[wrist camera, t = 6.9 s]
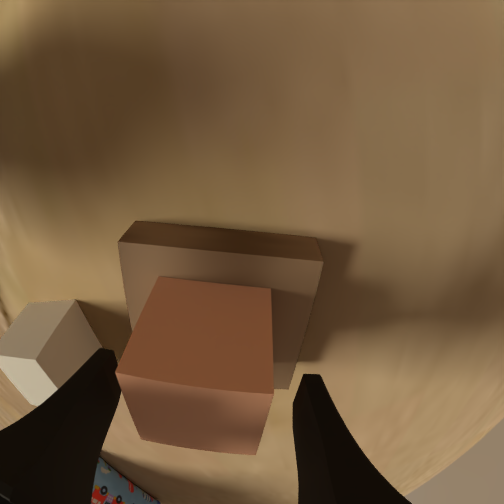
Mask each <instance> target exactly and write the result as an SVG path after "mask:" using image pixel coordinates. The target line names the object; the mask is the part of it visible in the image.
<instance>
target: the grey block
mask: <svg viewBox="0 0 504 504" xmlns="http://www.w3.org/2000/svg"><path fill="white" fill-rule="evenodd" d="M99 348H103V347H102V345H101V344H100V342H99V340H98V339H97V337H96V335H95V334H94V332H93V330H92V328H91V327H90V325H89V323H88V321H87V319H86V318H85V316H84V314H83V312H82V310H81V308H80V307H79V305H78V303H77V301H76V299H74V300H61V301H48V302H34V303H28V304H27V305H26V307H25V308H24V309H23V310H22V312H21V313H20V314H19V315H18V317H17V318H16V319H15V320H14V322H13V323H12V324H11V326H10V327H9V328H8V329H7V331H6V332H5V333H4V335H3V336H2V337H1V339H0V368H1V369H2V371H3V372H4V373H5V375H6V376H7V377H8V378H9V380H10V381H11V382H12V383H13V384H14V386H15V387H16V388H17V389H18V390H19V391H20V393H21V394H22V395H23V396H24V397H25V398H26V399H27V401H28V402H29V403H30V404H32V405H36V406H39V405H40V404H42V403H43V402H44V401H45V400H46V399H48V398H49V397H50V396H51V395H52V394H53V393H54V392H55V391H57V390H58V389H59V388H60V387H61V386H62V385H63V384H64V383H65V382H66V381H67V380H68V379H69V378H70V377H71V376H72V375H73V374H74V373H75V372H76V371H77V370H78V369H79V368H80V367H81V366H82V365H83V364H84V363H85V362H86V361H87V360H88V359H89V358H90V357H91V356H92V355H93V354H94V353H95V352H96V351H97V350H98V349H99Z"/></svg>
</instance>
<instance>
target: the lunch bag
mask: <svg viewBox="0 0 504 504" xmlns="http://www.w3.org/2000/svg"><path fill="white" fill-rule="evenodd" d="M91 504H161V503H160V502H159V501H158V500H155V499H154V498H152V497H151V496H150V495H148V494H147V493H145V492H144V491H142V490H141V489H140V488H138V487H137V486H135V485H134V484H133V483H131V482H130V481H129V480H128V479H126V478H125V477H123V476H122V475H120V474H119V473H118V472H117V471H115V470H114V469H113V468H112V467H111V466H109V465H108V464H107V463H106V462H105V461H104V460H103V459H102V458H100V457H99V459H98V464H97V469H96V473H95V479H94V485H93V492H92V500H91Z"/></svg>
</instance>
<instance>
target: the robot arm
mask: <svg viewBox="0 0 504 504" xmlns="http://www.w3.org/2000/svg"><path fill="white" fill-rule="evenodd" d="M117 367H118V364H117V360H116V357H115V354H114V351H113V350H108V349H104V348H99V349H98V350H97V351H96V352H95V353H94V354H93V355H92V356H91V357H90V358H89V359H88V360H87V361H86V362H85V363H84V364H83V365H82V366H81V367H80V368H79V369H78V370H77V371H76V372H75V373H74V374H73V375H72V376H71V377H70V378H69V379H68V380H67V381H66V382H65V383H64V384H63V385H62V386H61V387H60V388H59V389H58V390H57V391H55V392H54V393H53V394H52V395H51V396H50V397H49V398H48V399H46V400H45V401H44V402H43V403H42V404H40V405H39V406H38V407H37V408H35V409H34V410H33V411H31V412H30V413H29V414H27V415H26V416H24V417H23V418H21V419H20V420H18V421H17V422H15V423H13V424H12V425H10V426H8V427H6V428H4V429H2V430H1V431H0V504H91V500H92V492H93V485H94V479H95V473H96V469H97V464H98V459H99V455H100V452H101V449H102V446H103V443H104V440H105V437H106V435H107V432H108V429H109V427H110V424H111V422H112V419H113V416H114V414H115V411H116V408H117V406H118V402H119V398H120V395H121V388H120V385H119V382H118V379H117V376H116V373H115V371H116V369H117ZM293 435H294V444H295V452H296V461H297V470H298V482H299V493H298V504H412V503H411V502H409V501H408V500H407V499H406V498H405V497H404V496H402V495H401V494H400V493H399V492H398V491H397V490H396V489H395V488H394V487H393V486H392V485H391V484H390V483H389V482H388V481H387V480H386V479H385V478H384V477H383V476H382V475H381V474H380V473H379V471H378V470H377V469H376V468H375V467H374V465H373V464H372V463H371V462H370V461H369V459H368V458H367V457H366V455H365V454H364V453H363V451H362V450H361V448H360V447H359V446H358V444H357V443H356V441H355V440H354V438H353V436H352V435H351V433H350V432H349V430H348V428H347V427H346V425H345V423H344V421H343V420H342V418H341V416H340V414H339V413H338V411H337V409H336V407H335V405H334V403H333V401H332V399H331V397H330V395H329V393H328V391H327V388H326V386H325V384H324V382H323V379H322V377H321V376H320V375H319V374H303V377H302V379H301V382H300V385H299V388H298V391H297V393H296V396H295V399H294V402H293Z"/></svg>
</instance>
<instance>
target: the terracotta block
mask: <svg viewBox="0 0 504 504" xmlns="http://www.w3.org/2000/svg"><path fill="white" fill-rule="evenodd" d="M115 373H116V376H117V379H118V382H119V385H120V388H121V390H122V393H123V396H124V399H125V401H126V404H127V406H128V409H129V411H130V414H131V416H132V419H133V421H134V424H135V426H136V429H137V431H138V433H139V436H140V438H141V439H142V440H147V441H152V442H156V443H162V444H167V445H172V446H178V447H184V448H191V449H198V450H205V451H214V452H223V453H233V454H247V455H256V453H257V450H258V446H259V443H260V440H261V437H262V433H263V430H264V427H265V423H266V420H267V416H268V413H269V410H270V406H271V403H272V399H273V395H274V378H273V339H272V306H271V288H261V287H250V286H240V285H231V284H221V283H212V282H203V281H194V280H185V279H177V278H168V277H160V276H158V278H157V281H156V283H155V285H154V287H153V289H152V291H151V293H150V295H149V297H148V299H147V301H146V304H145V306H144V308H143V310H142V312H141V314H140V316H139V319H138V321H137V323H136V325H135V327H134V330H133V332H132V334H131V336H130V339H129V341H128V343H127V346H126V348H125V350H124V352H123V355H122V357H121V359H120V362H119V364H118V367H117V369H116V371H115Z"/></svg>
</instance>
